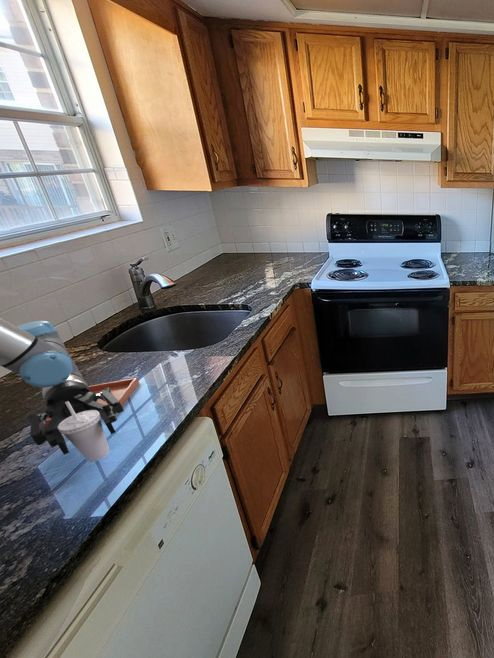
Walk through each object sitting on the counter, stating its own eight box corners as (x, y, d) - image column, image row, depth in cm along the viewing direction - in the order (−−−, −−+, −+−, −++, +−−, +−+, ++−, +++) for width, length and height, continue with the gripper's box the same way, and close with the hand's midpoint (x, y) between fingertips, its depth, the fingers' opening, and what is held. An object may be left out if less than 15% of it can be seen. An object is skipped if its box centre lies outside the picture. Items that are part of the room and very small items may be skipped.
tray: (44, 428, 92) (40, 421, 91) (77, 394, 105) (74, 388, 104) (116, 413, 96) (113, 407, 95) (139, 383, 109) (137, 377, 108)
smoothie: (102, 442, 82) (74, 391, 76) (125, 446, 80) (98, 394, 75) (70, 464, 76) (37, 410, 70) (94, 469, 75) (62, 414, 69)
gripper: (125, 389, 94) (153, 426, 80) (15, 430, 80) (26, 483, 67) (114, 364, 91) (140, 398, 77) (-3, 402, 77) (5, 452, 64)
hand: (87, 437), depth 72 cm, fingers closed on smoothie, 6 cm apart
